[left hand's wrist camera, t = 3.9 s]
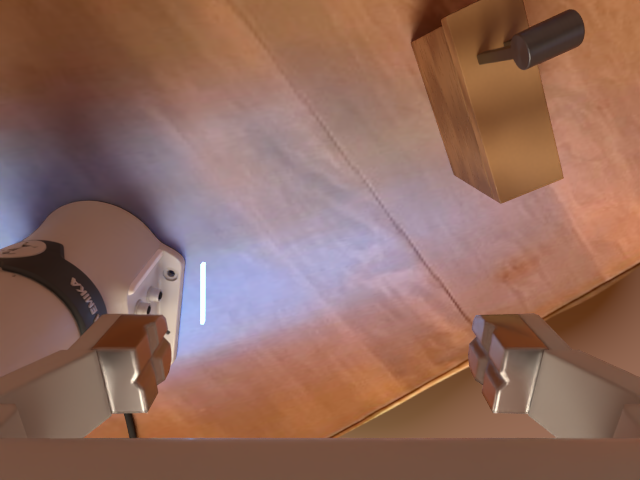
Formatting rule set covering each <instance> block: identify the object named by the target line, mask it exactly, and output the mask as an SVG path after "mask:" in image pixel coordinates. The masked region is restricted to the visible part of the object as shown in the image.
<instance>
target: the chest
mask: <svg viewBox="0 0 640 480" xmlns="http://www.w3.org/2000/svg"><path fill="white" fill-rule="evenodd" d="M411 45H412V48H413V51H414V54H415V57H416V60H417V64H418V67H419V70H420V73H421V76H422V79H423V82H424V85H425V88H426V91H427V94H428V97H429V100H430V103H431V106H432V109H433V112H434V115H435V118H436V122H437V125H438V128H439V131H440V134H441V137H442V140H443V143H444V146H445V149H446V152H447V155H448V158H449V161H450V164H451V167H452V170H453V173H454V175H455V176H456V177H458V178H460V179H461V180H463V181H465V182H466V183H468V184H469V185H471V186H473V187H474V188H476V189H477V190H479V191H481V192H482V193H484V194H486V195H487V196H489V197H490V198H492V199H494V197H493V194H492V191H491V187H490V184H489V180H488V177H487V174H486V170H485V167H484V164H483V160H482V157H481V154H480V150H479V147H478V144H477V140H476V137H475V133H474V130H473V127H472V123H471V120H470V117H469V113H468V110H467V107H466V103H465V100H464V97H463V93H462V90H461V86H460V83H459V80H458V76H457V73H456V70H455V66H454V63H453V60H452V56H451V53H450V50H449V46H448V43H447V39H446V36H445V33H444V29H443V26H441V27H439V28H437V29H435V30H433V31H432V32H430V33H428V34H426V35H424V36H422V37H420V38H418V39H417V40H415V41H413V42H411Z"/></svg>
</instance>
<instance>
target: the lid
mask: <svg viewBox="0 0 640 480" xmlns="http://www.w3.org/2000/svg"><path fill="white" fill-rule="evenodd" d="M441 23H442V26H443V29H444V33H445V36H446V39H447V43H448V46H449V50H450V53H451V56H452V60H453V63H454V66H455V70H456V73H457V76H458V80H459V83H460V86H461V90H462V93H463V97H464V100H465V103H466V107H467V110H468V113H469V117H470V120H471V123H472V127H473V130H474V133H475V137H476V140H477V144H478V147H479V150H480V154H481V157H482V160H483V164H484V167H485V170H486V174H487V177H488V180H489V184H490V187H491V191H492V194H493V197H494V200H495V201H497V202H499V203H500V204H501V203H504V202H506V201H509V200H511V199H514V198H516V197H519V196H521V195H524V194H526V193H529V192H531V191H534V190H536V189H539V188H541V187H544V186H546V185H549V184H551V183H553V182H556V181H558V180H561V179H563V178H564V177H563V173H562V169H561V164H560V160H559V156H558V151H557V147H556V143H555V138H554V134H553V129H552V125H551V121H550V116H549V112H548V108H547V103H546V99H545V95H544V90H543V86H542V81H541V77H540V73H539V68H538V64H540V63H542V62H545V61H547V60H549V59H551V58H553V57H556V56H558V55H560V54H562V53H565V52H567V51H569V50H571V49H574V48H576V47H578V46H579V45H580V44H581V43H582V41H583V39H584V34H585V29H584V23H583V20H582V18H581V16H580V15H579V13H578V12H577V11H575V10H571V9H570V10H567V11H564V12H562V13H560V14H558V15H556V16H554V17H551V18H549V19H547V20H545V21H543V22H541V23H539V24H536V25H534V26H532V27H530V28H529V25H528V20H527V16H526V12H525V7H524V3H523V0H479V1H477V2H474V3H472V4H470V5H468V6H466V7H464V8H462V9H460V10H458V11H456V12H454V13H452V14H450V15H448V16H446V17H444V18H442V19H441Z"/></svg>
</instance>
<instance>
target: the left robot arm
mask: <svg viewBox="0 0 640 480" xmlns="http://www.w3.org/2000/svg"><path fill="white" fill-rule="evenodd" d="M169 270H172V271H174V273H175V274H171V273H170V271H169ZM184 270H185V260H184V258H183V257H182V255H181V254H179V253H178V252H177V251H175V250H174V249H172V248H170V247H168V246H167V245H165V244H163V243H162V242H160V241H159V240H158V239H157V238H156V237H155V235H154V234H153V233H152V232H151V231H150V230H149V228H148V227H147V226H146V225H145V224H144V223H143V222H142V221H140V220H139V219H138V218H137V217H135V216H134V215H132V214H131V213H129V212H127V211H126V210H124V209H122V208H119V207H117V206H114V205H111V204H108V203H104V202H99V201H78V202H73V203H69V204H66V205H64V206H61V207H60V208H58V209H56V210H55V211H53V212H52V213H51V214H50V215H49V216H48V217H47V218H46V219H45V221H44V222H43V223H42V224H41V225H40V227H39V228H38V229H37V230H36V231H35V232H33V233H32V234H31V235H30V236H28V237H27V238H26V239H24V240H23V241H22V242H19V243H16V244H13V245H10V246H7V247H5V248H2V249H0V480H640V377H638V376H636V375H634V374H631V373H629V372H627V371H625V370H622V369H620V368H618V367H616V366H614V365H611V364H609V363H607V362H605V361H603V360H600V359H598V358H596V357H594V356H591V355H589V354H587V353H585V352H583V351H580V350H572V349H571V348H570V347H569V346H568V345H567V344H566V343H565V342H564V341H563V340H562V339H561V338H560V337H559V336H558V335H557V334H556V333H555V331H553V329H552V328H551V327H550V326H549V325H548V324H547V323H546V322H545V321H544V320H543V319H542V318H541V317H540V316H539V315H536V314H534V313H533V314H503V315H476V316H475V318H474V321H473V326H472V330H473V332H474V333H475V335H476V338H475V339H474V340H473V341H472V342H471V343H470V344H469V352H468V358H469V366H470V370H471V373H472V375H473V377H474V379H475V380H476V381H477V382H479V383H480V384H482V385H483V389H482V394H483V396H484V397H485V399H486V401H487V403H488V405H489V407H490V408H491V410H492V412H493V413H520V414H529V416H530V417H531V418H532V419H534V420H535V421H536V422H537V423H539V424H540V425H541V426H543V427H544V428H545V429H546V430H548V431H549V432H550V433H551V434H553V435H554V436H555V437H556V438H136V433H135V428H134V423H133V419H132V415H131V413H147V412H148V410H149V409H150V407H151V405H152V403H153V401H154V399H155V398H156V396H157V394H158V389H157V385H158V384H160V383H161V382H163V381H164V380H165V379H166V377H167V375H168V373H169V370H170V365H171V364H172V363H173V362H174V360H175V359H176V355H177V345H178V334H179V324H180V313H181V302H182V292H183V281H184ZM204 322H205V262H202V264H201V324H204ZM120 413H124V416H125V420H126V424H127V428H128V433H129V438H84V437H85V436H86V435H87V434H89V433H90V432H91V431H93V430H94V429H95V428H96V427H98V426H99V425H100V424H101V423H103V422H104V421H105V420H106V419H108V418H109V417H110V416H111V414H120Z"/></svg>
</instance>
